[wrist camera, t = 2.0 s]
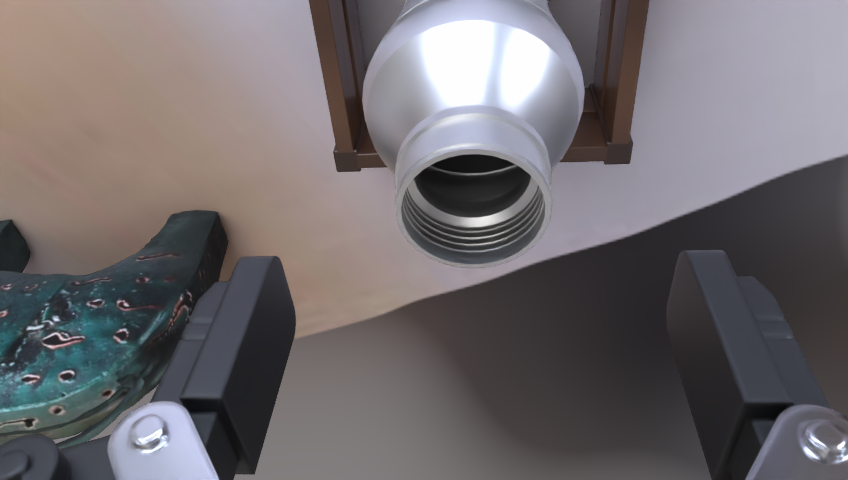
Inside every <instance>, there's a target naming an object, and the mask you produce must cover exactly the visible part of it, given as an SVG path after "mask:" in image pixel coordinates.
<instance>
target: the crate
mask: <svg viewBox="0 0 848 480" xmlns="http://www.w3.org/2000/svg"><path fill="white" fill-rule="evenodd" d="M309 4H310V9H311V15H312V20H313V25H314V31H315V36H316V41H317V47H318V52H319V57H320V63H321V68H322V73H323V79H324V84H325V89H326V95H327V100H328V105H329V111H330V116H331V121H332V127H333V132H334V137H335V143H336V145H335V148H334V151H333V153H334V158H335V164H336V169H337V172H354V171H361V168H377V167H387V166H386V165H385V164H384V162H383V161H382V159H381V158H380V156H379V155H378V153H377V151H376V150H375V148H374V145H373V143H372V140H371V137H370V135H369V132H368V128H367V125H366V121H365V117H364V110H363V104H362V96H363V83H364V79H365V76H366V66H365V59H364V52H363V45H362V38H361V30H360V23H359V16H358V9H357V2H356V0H309ZM648 6H649V0H602V3H601V13H600V23H599V34H598V44H597V54H596V64H595V75H594V84H590V86H589V88H584V89H585V94H584V105H583V112H582V115H581V118H580V121H579V124H578V127H577V130H576V133H575V135H574V138H573V141H572V143H571V145H570V146H569V148H568V150H567V152H566V153H565V155H564V157H563V158H562V159H561V160H560V162H586V161H604V164H630V160H631V153H632V147H633V141H632V138H631V135H630V131H631V124H632V117H633V110H634V103H635V96H636V89H637V82H638V75H639V68H640V61H641V54H642V47H643V40H644V33H645V27H646V20H647V13H648Z"/></svg>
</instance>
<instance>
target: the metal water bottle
mask: <svg viewBox="0 0 848 480" xmlns="http://www.w3.org/2000/svg"><path fill="white" fill-rule="evenodd" d="M584 94H585V89H584V82H583V75H582V70H581V68H580V65H579V63H578V60H577V58H576V55H575V53H574V51H573V48H572V46H571V43H570V41H569V40H568V38H567V37H566V35H565V34H564V32H563V31H562V29H561V28H560V27H559V25H558V24H557V22H556V21H555V19H554V18H553V16H552V15H551V12H550V9H549V7H548V0H405V5H404V7H403V9H402V12H401V14H400V15H399V17H398V18H397V19H396V21H395V22H394V23H393V25H392V26H391V27H390V29H389V30H388V31H387V33H386V34H385V35H384V37H383V39H382V40H381V42H380V44H379V46H378V47H377V49H376V51H375V53H374V55H373V57H372V59H371V61H370V63H369V66H368V69H367V73H366V76H365V79H364V83H363V96H362V104H363V110H364V117H365V121H366V125H367V128H368V132H369V135H370V137H371V140H372V143H373V145H374V148H375V150H376V151H377V153H378V155H379V156H380V158H381V159H382V161H383V162H384V164H385V165H386V166H387V167H388V168H389V169H390V170H391V171H392V172H393V173H394V174H395V176H394V177H395V185H396V196H395V212H396V218H397V222H398V225H399V227H400V230H401V232H402V234H403V235H404V236H405V238H406V239H407V241H408V242H409V243H410V244H411V245H412V246H413V247H414V248H415V249H416V250H417V251H419V252H420V253H422V254H423V255H425V256H427V257H428V258H430V259H433V260H435V261H437V262H439V263H443V264H446V265H450V266H454V267H462V268H484V267H490V266H496V265H499V264H503V263H506V262H509V261H511V260H513V259H515V258H517V257H519V256H521V255H523V254H524V253H525V252H527V251H528V250H529V249H531V248H532V247H533V246H534V245H535V244H536V243H537V242H538V241H539V240H540V239H541V237H542V235H543V234H544V232H545V231H546V229H547V227H548V223H549V220H550V217H551V210H552V196H551V191H550V184H551V171H552V170H553V168H554V167H555V166H556V165H557V164H558V163H559V162H560V160H561V159H562V158H563V157H564V155H565V153H566V152H567V150H568V148H569V146H570V145H571V143H572V141H573V138H574V135H575V133H576V130H577V127H578V124H579V121H580V118H581V115H582V112H583V105H584Z"/></svg>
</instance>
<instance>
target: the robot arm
mask: <svg viewBox="0 0 848 480" xmlns="http://www.w3.org/2000/svg"><path fill="white" fill-rule="evenodd" d="M666 323H667V324H666V325H667V332H668V337H669V340H670V344H671V347H672V350H673V353H674V357H675V360H676V363H677V367H678V370H679V373H680V377H681V380H682V383H683V386H684V389H685V393H686V396H687V399H688V403H689V406H690V409H691V413H692V416H693V419H694V422H695V426H696V429H697V432H698V436H699V439H700V442H701V445H702V449H703V452H704V455H705V459H706V462H707V465H708V468H709V472H710V475H711V478H712V480H848V418H847V417H846V416H844V415H842V414H841V413H838V412H837V411H834V410H832V409H831V407H830V405H829V404H828V402H827V400H826V398H825V396H824V394H823V392H822V390H821V388H820V386H819V384H818V382H817V380H816V378H815V376H814V374H813V372H812V370H811V368H810V366H809V364H808V362H807V360H806V358H805V356H804V354H803V352H802V350H801V348H800V346H799V344H798V342H797V340H796V339H794V337H793V336H794V335H793V333H792V330H791V328H790V326H789V324H788V322H787V321H785V317H784V315H783V313H782V311H781V309H780V307H779V305H778V303H777V301H776V299H775V297H774V295H773V294H772V293H771V292H770V291H768V290H767V289H766V288H765V287H764V286H763V285H762V284H761V283H760V282H758V281H757V280H756V279H755V278H754V277H753V276H736V274H735V272H734V270H733V268H732V265H731V263H730V262H729V259H728V257H727V255H726V253H725V252H724V251H722V250H705V251H704V250H703V251H702V250H701V251H700V250H697V251H682V252H681V253H680V254H679V256H678V260H677V264H676V269H675V273H674V277H673V282H672V286H671V291H670V295H669V299H668V304H667V310H666ZM295 326H296V316H295V309H294V305H293V301H292V298H291V294H290V291H289V287H288V284H287V280H286V277H285V273H284V269H283V266H282V263H281V260H280V259H279V257H277V256H255V257H241V258H240V259H239V260H238V262H237V264H236V266H235V268H234V271H233V273H232V275H231V278H230V280H229V282H215V283H214V284H213V285H212V286H211V287H210V288H209V289H208V290H207V291H206V292H205V293H204V294H203V295H202V296H201V297H200V298H199V299H198V301H197V303H196V305H195V308H194V310H193V312H192V314H191V316H190V318H189V324H187V325H186V327H185V329H184V331H183V333H182V335H181V337H182V339H181V340H179V342H178V344H177V346H176V348H175V350H174V353H173V355H172V357H171V359H170V361H169V363H168V365H167V368H166V370H165V372H164V374H163V376H162V378H161V380H160V382H159V385H158V387H157V389H156V391H155V393H154V395H153V397H152V399H151V401H150V403H149V404H146V405H143V406H141V407H139V408H137V409H136V410H134V411H132V412H131V413H129V414H128V415H127V416H125V417H124V418H123V419H122V420H121V421H120V422H119V423H118V425H117V426H116V427H115V429H114V430H113V432H112V434H111V435H108V436H105V437H102V438H99V439H95V440H92V441H88V442H84V443H80V444H77V445H73V446H70V447H66V448H62V449H59V448H58V446H57V445H56V444H55V442H54V441H53V440H52V439H51V438H49V437H47V436H44V435H40V434H31V435H24V436H20V437H17V438H14V439H12V440H10V441H8V442H6V443H4V444H2V445H0V480H233V479H234V476H235V474H255V471H256V467H257V464H258V460H259V457H260V454H261V450H262V447H263V443H264V439H265V436H266V433H267V429H268V426H269V422H270V419H271V415H272V412H273V408H274V405H275V401H276V398H277V394H278V391H279V387H280V384H281V381H282V377H283V374H284V370H285V366H286V363H287V360H288V356H289V353H290V349H291V346H292V342H293V339H294V335H295Z"/></svg>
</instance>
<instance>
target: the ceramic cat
mask: <svg viewBox="0 0 848 480" xmlns="http://www.w3.org/2000/svg"><path fill="white" fill-rule="evenodd" d="M227 246H228V240H227V237H226V234H225V232H224V230H223V228H222V226H221V223H220V219H219V216H218V213H217V212H212V211H197V210H196V211H186V212H181V213H178V214H173V215H171V216H170V217H169V219H168V221H167V223H166V224H165V226H164V227H163V228H162V229H161V231H160V232H159V233H158V234H157V235H156V236H155V237H154V238H152V239H151V241H150V242H149V243H148V244H146V245H145V247H144V248H143V249H141V250H140V251H139V252H137V253H136V254H134V255H132V256H130V257H128V258H127V259H125V260H123V261H121V262H119V263H117V264H115V265H112V266H110V267H108V268H105V269H103V270H100V271H98V272H95V273H92V274H88V275H83V276H72V275H66V274H53V275H41V274H25V273H22V272H23V270H24V268H25V267H26V265H27V263H28V261H29V258H30V251H29V249H28V247H27V245H26V243H25V241H24V239H23V238H22V237H21V235H20V234H19V232H18V231H17V230H16V228H15V227H14V226H13V225H12V221H11V220H4V221H0V445H2V444H4V443H6V442H8V441H10V440H12V439H14V438H17V437H20V436H24V435H31V434H40V435H44V436H47V437H49V438H51V439H52V440H53V439H59V438H64V437H69V436H72V435H76V434H78V433H80V432H82V431H83V432H82V433H81V434H79V435H77V436H75V437H72V438H70V439H67V440H65V441H62V442H60V443H57V444H56V445H57V446H58V448H59V449H62V448H66V447H70V446H73V445H77V444H80V443H84V442H87V441H89V440H90V439H91V438H93V437H95V436H96V435H98V434H99V433H101V432H102V431H103V430H104V429H105V428H106V427H107V426H109V424H111V423H112V422H113V421H114V420H115V419H116V418H117V417H118V416H119V415H120V414H121V413H122V412H123V411H125V410H126V409H128V408H130V407H131V406H133V405H134V404H136V403H137V402H138V401H139V400H140V399H142V398H143V397H144V396H145V395H146V394H148V393H149V392H150V391H151V390H153V389H154V388H155V387H156V386H157V385H158V384H159V382H160V380H161V378H162V376H163V374H164V372H165V370H166V368H167V365H168V363H169V361H170V359H171V357H172V355H173V353H174V350H175V348H176V346H177V344H178V342H179V340H181V339H182V337H181V335H182V333H183V331H184V329H185V327H186V325H187V324H189V318H190V316H191V314H192V312H193V310H194V308H195V305H196V303H197V301H198V299H199V298H200V297H201V296H202V295H203V294H204V293H205V292H206V291H207V290H208V289H209V288H210V287H211V286H212V285H213V284H214V283H215V282H218V281H219V277H220V272H221V267H222V264H223V260H224V256H225V253H226V249H227ZM84 430H85V431H84Z"/></svg>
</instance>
